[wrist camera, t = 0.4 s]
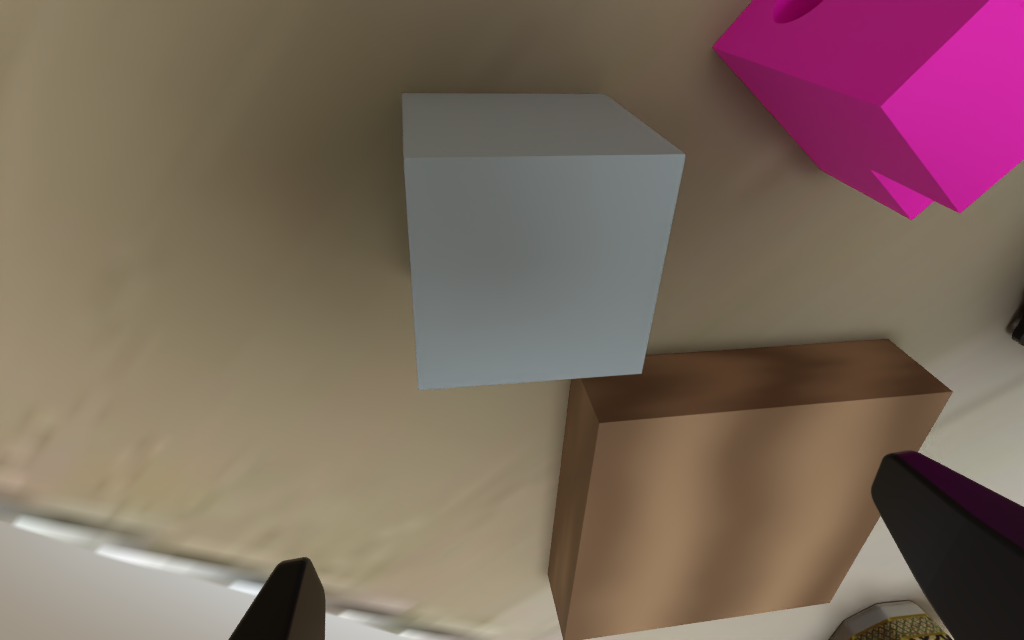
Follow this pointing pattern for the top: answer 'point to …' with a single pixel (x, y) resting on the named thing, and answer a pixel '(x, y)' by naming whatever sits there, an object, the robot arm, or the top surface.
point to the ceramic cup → (890, 624)
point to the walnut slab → (726, 481)
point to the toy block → (891, 91)
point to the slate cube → (533, 235)
